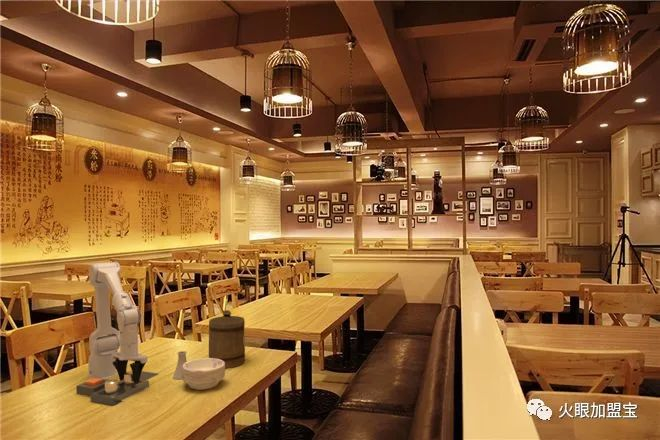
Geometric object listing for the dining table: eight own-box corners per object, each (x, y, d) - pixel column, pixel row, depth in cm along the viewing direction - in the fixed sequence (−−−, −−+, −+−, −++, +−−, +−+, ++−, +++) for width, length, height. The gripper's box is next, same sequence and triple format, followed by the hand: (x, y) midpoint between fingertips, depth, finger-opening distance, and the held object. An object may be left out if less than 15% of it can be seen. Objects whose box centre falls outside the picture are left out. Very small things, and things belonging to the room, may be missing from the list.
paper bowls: (233, 381, 169) (233, 360, 169) (206, 396, 155) (206, 373, 155) (201, 375, 175) (201, 354, 175) (172, 389, 161) (172, 367, 161)
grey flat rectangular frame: (90, 401, 151) (90, 394, 151) (127, 384, 166) (127, 377, 166) (113, 405, 148) (113, 398, 148) (149, 387, 163) (149, 381, 162)
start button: (86, 390, 159) (85, 381, 159) (95, 386, 162) (95, 377, 162) (94, 391, 157) (94, 382, 157) (103, 387, 161) (103, 379, 161)
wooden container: (252, 360, 192) (251, 309, 191) (226, 371, 179) (226, 316, 179) (227, 355, 200) (226, 305, 199) (201, 364, 187) (200, 312, 187)
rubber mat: (123, 380, 170) (123, 378, 170) (141, 372, 178) (141, 371, 178) (142, 383, 167) (142, 381, 167) (159, 375, 175) (159, 373, 175)
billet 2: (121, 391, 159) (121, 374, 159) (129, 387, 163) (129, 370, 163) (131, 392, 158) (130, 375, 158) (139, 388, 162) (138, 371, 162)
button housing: (76, 394, 157) (76, 385, 157) (95, 385, 165) (95, 377, 165) (93, 397, 155) (93, 388, 155) (112, 388, 162) (112, 380, 162)
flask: (186, 382, 168) (185, 355, 168) (168, 381, 169) (168, 354, 169) (195, 375, 175) (195, 349, 175) (178, 374, 176) (178, 348, 176)
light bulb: (102, 400, 152) (102, 382, 152) (111, 396, 156) (111, 378, 156) (111, 402, 150) (111, 384, 150) (120, 397, 154) (120, 380, 154)
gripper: (104, 343, 159) (104, 382, 159) (136, 347, 154) (137, 387, 154) (120, 338, 166) (120, 375, 166) (151, 342, 161) (152, 380, 161)
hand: (129, 380), depth 160 cm, fingers open, 6 cm apart
